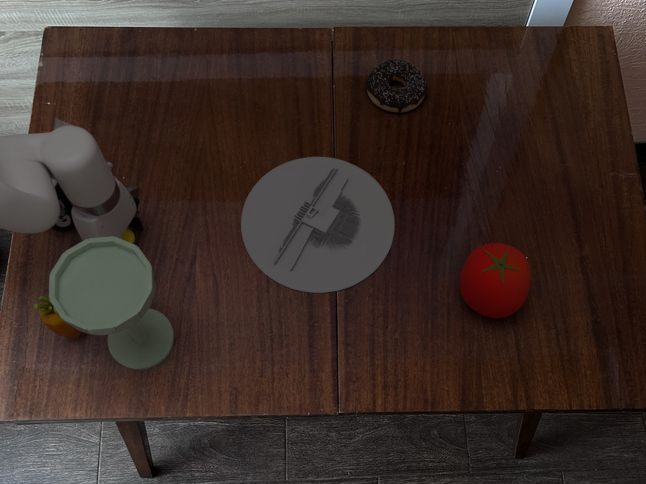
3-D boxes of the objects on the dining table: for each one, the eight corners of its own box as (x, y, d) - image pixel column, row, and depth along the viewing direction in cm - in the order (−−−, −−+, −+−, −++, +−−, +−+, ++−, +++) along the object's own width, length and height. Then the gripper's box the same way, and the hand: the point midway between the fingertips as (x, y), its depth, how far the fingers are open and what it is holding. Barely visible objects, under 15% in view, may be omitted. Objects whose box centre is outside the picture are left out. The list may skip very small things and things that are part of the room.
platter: (35, 311, 97) (29, 305, 95) (87, 230, 101) (82, 222, 99) (124, 350, 96) (119, 344, 93) (173, 266, 100) (169, 259, 98)
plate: (292, 134, 133) (292, 130, 132) (421, 200, 129) (422, 197, 128) (211, 246, 124) (210, 243, 123) (346, 320, 121) (346, 318, 120)
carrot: (90, 319, 119) (59, 282, 105) (92, 346, 117) (61, 312, 103) (61, 323, 119) (26, 287, 104) (62, 350, 117) (26, 317, 103)
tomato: (440, 278, 124) (455, 240, 111) (496, 255, 126) (517, 216, 113) (473, 338, 121) (492, 307, 107) (529, 314, 123) (555, 281, 109)
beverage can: (52, 238, 124) (24, 202, 112) (41, 208, 126) (14, 170, 114) (88, 225, 125) (64, 189, 114) (77, 196, 127) (53, 157, 115)
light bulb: (135, 231, 125) (136, 228, 121) (131, 264, 124) (131, 261, 121) (116, 228, 124) (116, 224, 120) (111, 261, 123) (111, 258, 120)
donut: (377, 62, 139) (378, 47, 136) (433, 80, 138) (436, 66, 135) (358, 105, 136) (359, 91, 132) (416, 123, 135) (418, 110, 131)
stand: (96, 354, 117) (51, 306, 97) (129, 300, 120) (91, 242, 101) (154, 380, 116) (120, 337, 96) (185, 324, 119) (159, 271, 100)
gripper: (101, 140, 109) (130, 199, 126) (41, 229, 104) (80, 279, 121) (143, 157, 109) (167, 215, 125) (85, 247, 103) (118, 295, 120)
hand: (124, 246), depth 123 cm, fingers open, 7 cm apart
